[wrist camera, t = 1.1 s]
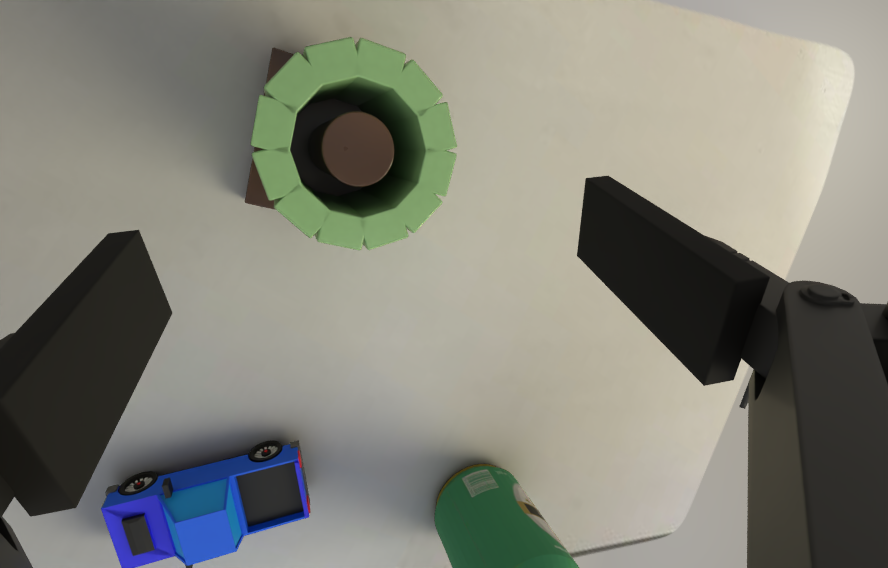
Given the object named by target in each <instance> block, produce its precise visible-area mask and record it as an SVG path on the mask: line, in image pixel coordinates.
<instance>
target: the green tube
mask: <svg viewBox="0 0 888 568" xmlns="http://www.w3.org/2000/svg"><path fill="white" fill-rule="evenodd" d="M405 58H406V55H405V54H404V53H402V52H399V51H396V50H393V49H391V48H388V47H385V46H383V45H380V44H377V43H374V42H372V41H369V40H366V39H364V38H360V39H359V40H358V42H357V43H356V44H355V43H354V40H353V38H352V37H348V38H344V39H339V40H335V41H330V42H325V43H321V44H316V45H312V46H307V47H305V49H304V52H303V56H302V55H301V54H300V53H299V52H296V53H295V54H294V55H293V56H292V57H291V58H290V59H289V60H288V61H287V62H286V64H285V65H284V66H283V67H282V68H281V69H280V70H279V71H278V72H277V73H276V74H275V75H274V76H273V77H272V78H271V79H270V80H269V82H268V83H267V84H266V85H265V86H264V91H265V96H263V95H259V99H258V105H257V110H256V116H255V121H254V127H253V133H252V138H251V146H254V147H258V148H262V149H263V150H260V151H256V152H253V153H252V157H253V160H254V162H255V165H256V168H257V170H258V173H259V176H260V178H261V181H262V184H263V186H264V189H265V192H266V194H267V197H268V199H269V200H274V208H275V209H276V210H277V211H278V212H280V213H281V214H282V215H283V216H284V217H285V218H287V219H288V220H289V221H290V222H291V223H292V224H294V225H295V226H296V227H297V228H298V229H300V230H301V231H302V232H303V233H304V234H305V235H307V236H308V237H309V238H312V237H313V236H314V234H315V237H316V239H317V241H318V242H321V243H326V244H331V245H336V246H341V247H345V248H350V249H355V250H361V249H362V245H364V246H365V247H366V248H367V249H368V250H370V249H374V248H377V247H380V246H383V245H386V244H389V243H392V242H395V241H398V240H401V239H404V238H407V237H408V233H407V229H408V230H409V231H411V232H413V233H415V232H416V231H417V230H418V229H419V228H420V227H421V225H422V224H423V223H424V222H425V221H426V220H427V219H428V218H429V217H430V216H431V215H432V214H433V212H434V211H435V210H436V209H437V208H438V207H439V206H440V205H441V204H442V201H441V200H440V199H439V198H438V197H437V196H436V195H435V194H438V195H441V196H446V194H447V190H448V187H449V183H450V179H451V175H452V171H453V167H454V163H455V159H456V154H455V153H452V152H449V151H446V150H449V149H453V148H456V147H457V144H456V140H455V135H454V131H453V126H452V122H451V117H450V113H449V109H448V104H447V102H444V103H440V104H436V103H437V102H438V101H439V100H440V99H441V98H442V96H443V95H442V93H441V92H440V91H439V90H438V88H437V87H436V86H435V85H434V84H433V82H432V81H431V80H430V79H429V78H428V77H427V75H426V74H425V73H424V72H423V71H422V69H421V68H420V67H419V66H418V65H417V64H416V62H415V61H414V60H410V61H409V62H407V63H405V64H404V62H405ZM332 98H333V99H336V100H339V101H343V102H346V103H349V104H352V105H355V106H358V107H359V109H360V110H361V111H362V112H365V113H369V114H371V115H373V116H375V117H377V118H378V119H379V120H380V121H382V122H383V123H384V125H385V126H386V127H387V128H388V130H389V132H390V134H391V136H392V139H393V143H394V159H393V163H392V165H391V168H390V169H389V171H388V173H387V174H386V175H385V176H384V177H383V178H382V179H381V180H379V181H378V182H376V183H374V184H372V185H369V186H364V187H362V188H361V189H360V190H357V191H353V192H350V193H346V194H343V195H340V196H335V195H331V194H327V193H323V192H318V191H314V190H313V189H312V188H311V187H309V186H308V185H307V184H306V183H305V182H304V181H303V180H302V179H301V178H300V177H299V174H298V171H297V168H296V165H295V162H294V159H293V157H292V154H291V151H290V147H291V142H292V137H293V132H294V127H295V121H296V117H297V116H298V115H299V114H300V112H301V111H302V110H303V109H304V108H305V107H306V106H307V105H308V104H312V103H316V102H320V101H324V100H328V99H332ZM435 104H436V105H435Z"/></svg>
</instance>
